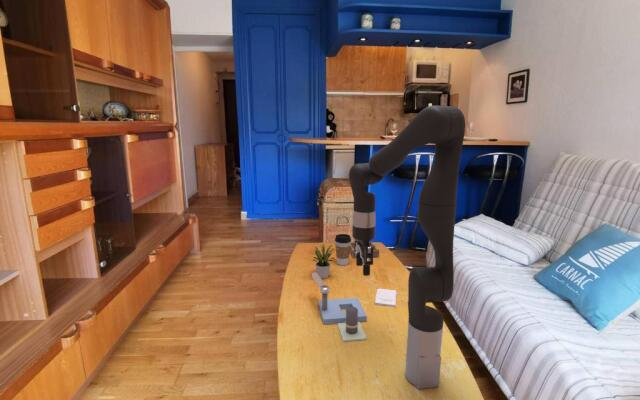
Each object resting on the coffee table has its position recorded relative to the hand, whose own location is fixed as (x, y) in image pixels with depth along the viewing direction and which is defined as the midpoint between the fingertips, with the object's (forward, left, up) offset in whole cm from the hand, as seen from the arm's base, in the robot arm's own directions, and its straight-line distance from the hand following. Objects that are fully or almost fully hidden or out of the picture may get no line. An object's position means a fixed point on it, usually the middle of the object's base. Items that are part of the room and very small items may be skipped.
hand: (362, 270), depth 118 cm
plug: (-1, +4, -22) cm, 22 cm away
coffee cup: (+59, -5, -23) cm, 63 cm away
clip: (+18, +12, -13) cm, 25 cm away
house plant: (+45, +6, -23) cm, 51 cm away
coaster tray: (+71, -19, -23) cm, 77 cm away
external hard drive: (+20, -16, -23) cm, 35 cm away
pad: (-1, +4, -23) cm, 23 cm away
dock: (+12, +5, -23) cm, 26 cm away
